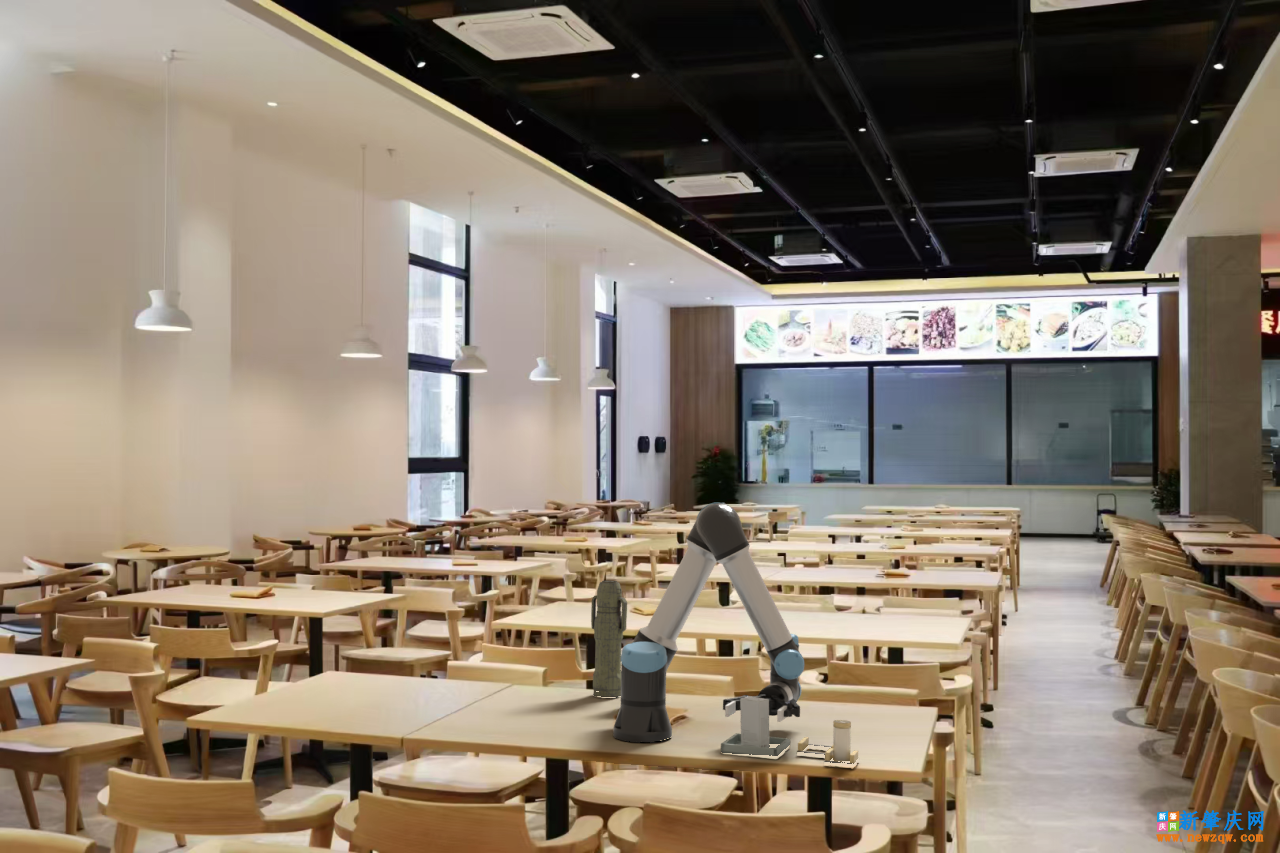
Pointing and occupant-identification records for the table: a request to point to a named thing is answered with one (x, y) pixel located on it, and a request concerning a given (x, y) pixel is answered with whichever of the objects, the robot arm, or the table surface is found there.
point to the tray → (735, 746)
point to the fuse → (841, 740)
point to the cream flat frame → (828, 753)
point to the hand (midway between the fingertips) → (752, 713)
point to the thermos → (608, 638)
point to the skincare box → (754, 721)
